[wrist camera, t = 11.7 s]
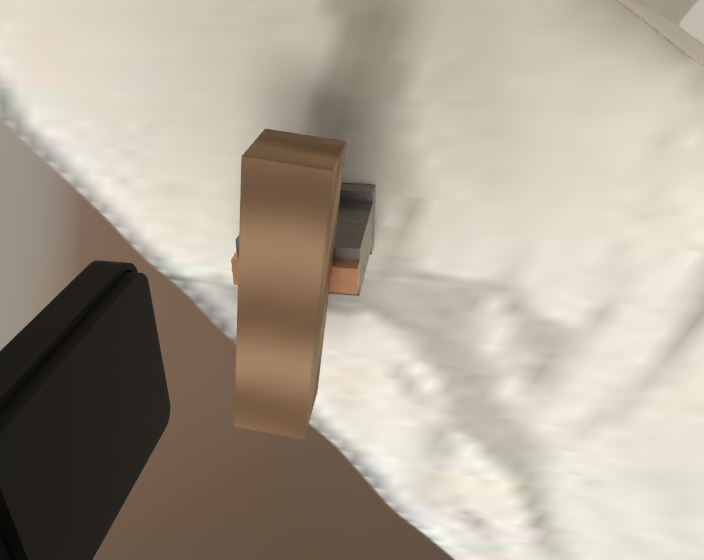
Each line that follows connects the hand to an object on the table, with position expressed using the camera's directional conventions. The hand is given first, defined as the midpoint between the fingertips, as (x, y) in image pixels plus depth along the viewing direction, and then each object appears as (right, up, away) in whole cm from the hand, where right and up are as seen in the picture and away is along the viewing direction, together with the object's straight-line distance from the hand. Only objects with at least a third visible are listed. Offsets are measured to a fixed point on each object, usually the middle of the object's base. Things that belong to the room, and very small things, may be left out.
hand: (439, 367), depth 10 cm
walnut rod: (-5, +2, +25) cm, 26 cm away
